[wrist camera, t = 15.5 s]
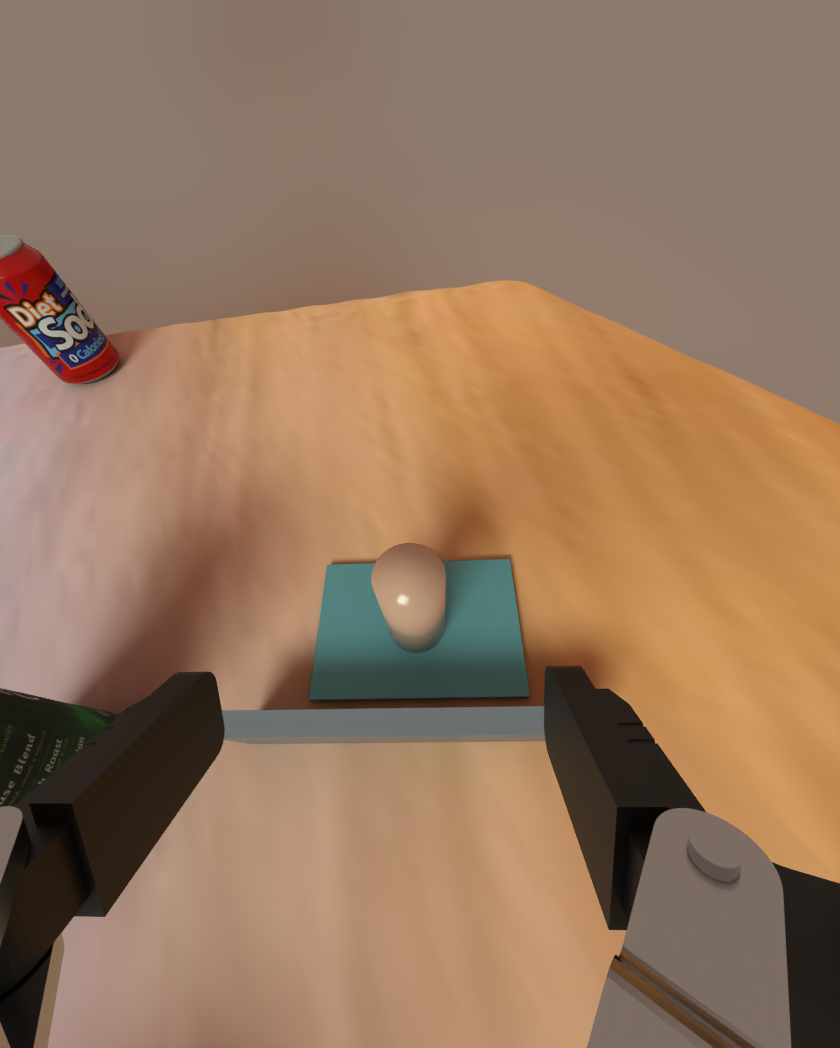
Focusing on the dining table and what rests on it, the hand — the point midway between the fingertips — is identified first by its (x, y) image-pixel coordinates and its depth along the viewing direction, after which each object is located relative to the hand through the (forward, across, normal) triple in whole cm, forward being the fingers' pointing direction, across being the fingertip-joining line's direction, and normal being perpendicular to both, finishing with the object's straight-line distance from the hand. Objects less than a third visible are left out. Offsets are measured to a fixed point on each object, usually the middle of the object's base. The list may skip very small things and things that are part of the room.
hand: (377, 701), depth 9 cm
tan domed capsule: (+20, +1, +8) cm, 22 cm away
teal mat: (+21, +1, +9) cm, 23 cm away
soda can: (+47, +45, -18) cm, 68 cm away
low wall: (+16, +1, +14) cm, 21 cm away
